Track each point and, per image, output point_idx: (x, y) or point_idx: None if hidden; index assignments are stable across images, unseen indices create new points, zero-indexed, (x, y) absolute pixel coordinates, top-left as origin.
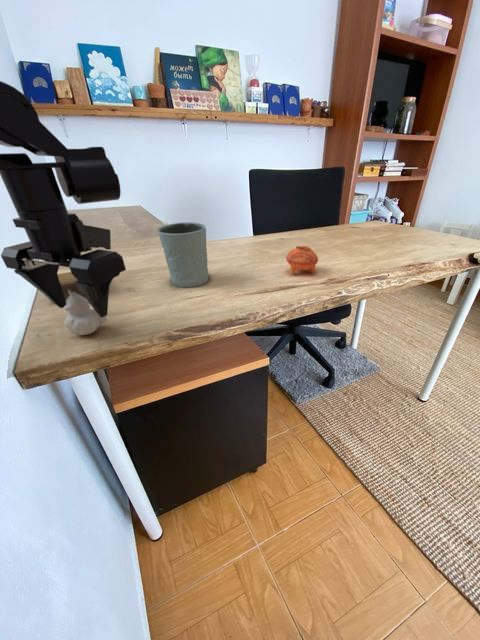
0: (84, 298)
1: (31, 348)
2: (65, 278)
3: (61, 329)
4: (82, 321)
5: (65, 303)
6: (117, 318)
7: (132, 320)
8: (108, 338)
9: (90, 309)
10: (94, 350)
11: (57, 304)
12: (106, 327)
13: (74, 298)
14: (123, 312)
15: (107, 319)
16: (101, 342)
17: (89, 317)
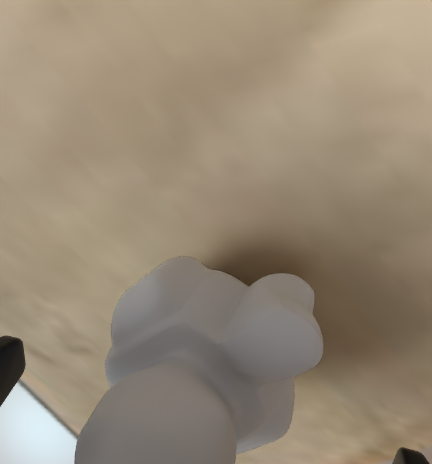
0: (175, 458)
1: None
2: None
3: (75, 303)
4: (251, 448)
5: (8, 350)
6: (277, 142)
7: (413, 144)
8: (373, 359)
9: (193, 338)
10: (368, 446)
11: (1, 402)
12: (283, 259)
13: None
14: (262, 41)
15: (313, 298)
16: (358, 391)
17: (265, 419)
